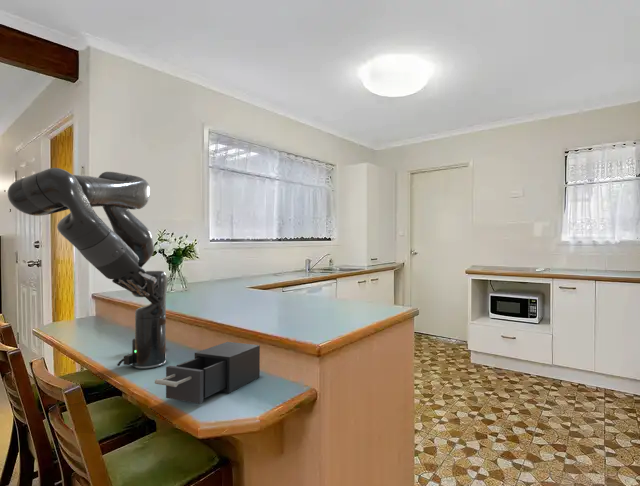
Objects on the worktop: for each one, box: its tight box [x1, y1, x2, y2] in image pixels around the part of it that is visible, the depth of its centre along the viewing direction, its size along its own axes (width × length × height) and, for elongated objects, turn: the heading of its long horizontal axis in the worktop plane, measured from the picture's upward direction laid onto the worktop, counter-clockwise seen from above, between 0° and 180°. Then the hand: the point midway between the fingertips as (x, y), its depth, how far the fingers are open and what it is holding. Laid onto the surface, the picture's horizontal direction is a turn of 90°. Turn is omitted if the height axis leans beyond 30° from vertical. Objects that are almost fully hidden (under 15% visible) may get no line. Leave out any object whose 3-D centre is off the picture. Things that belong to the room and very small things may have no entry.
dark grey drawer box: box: [194, 341, 261, 394], centre depth 112 cm, size 14×13×10 cm
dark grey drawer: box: [154, 357, 227, 405], centre depth 99 cm, size 18×12×8 cm, turn 161°
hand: (158, 301), depth 91 cm, fingers closed
